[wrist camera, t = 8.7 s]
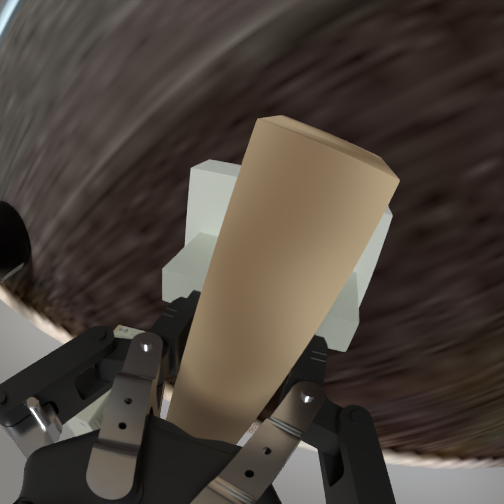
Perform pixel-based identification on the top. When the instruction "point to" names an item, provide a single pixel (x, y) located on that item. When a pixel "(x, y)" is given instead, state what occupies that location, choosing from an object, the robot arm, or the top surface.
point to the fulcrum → (206, 234)
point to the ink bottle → (11, 242)
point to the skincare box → (95, 411)
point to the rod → (275, 270)
